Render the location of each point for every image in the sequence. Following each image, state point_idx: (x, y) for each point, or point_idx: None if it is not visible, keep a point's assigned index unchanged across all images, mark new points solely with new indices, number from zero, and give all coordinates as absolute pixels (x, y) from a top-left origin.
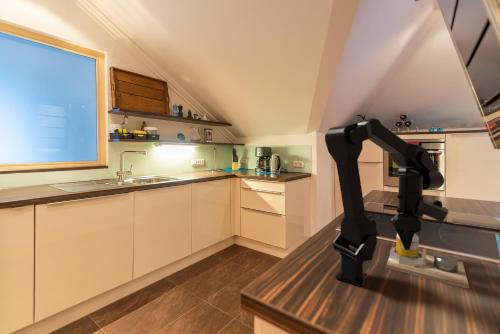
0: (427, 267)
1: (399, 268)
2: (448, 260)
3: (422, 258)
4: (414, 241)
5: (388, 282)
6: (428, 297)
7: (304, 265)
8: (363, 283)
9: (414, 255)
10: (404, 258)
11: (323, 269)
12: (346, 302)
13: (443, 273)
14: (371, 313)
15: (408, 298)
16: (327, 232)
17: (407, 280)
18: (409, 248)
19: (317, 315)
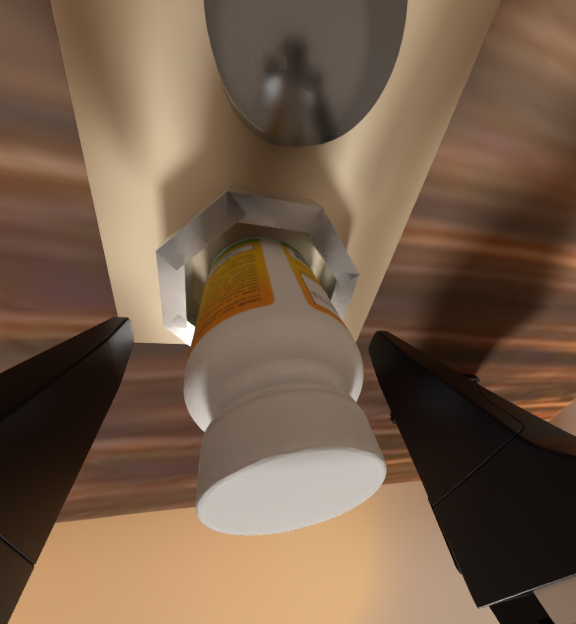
0: (326, 193)
1: (367, 310)
2: (385, 22)
3: (320, 229)
4: (351, 337)
5: (446, 328)
6: (535, 225)
7: (388, 462)
8: (467, 376)
9: (314, 275)
10: (342, 313)
11: (398, 439)
12: (527, 383)
13: (380, 107)
14: (569, 346)
15: (531, 282)
16: (112, 506)
17: (427, 280)
18: (395, 338)
19: (554, 403)
